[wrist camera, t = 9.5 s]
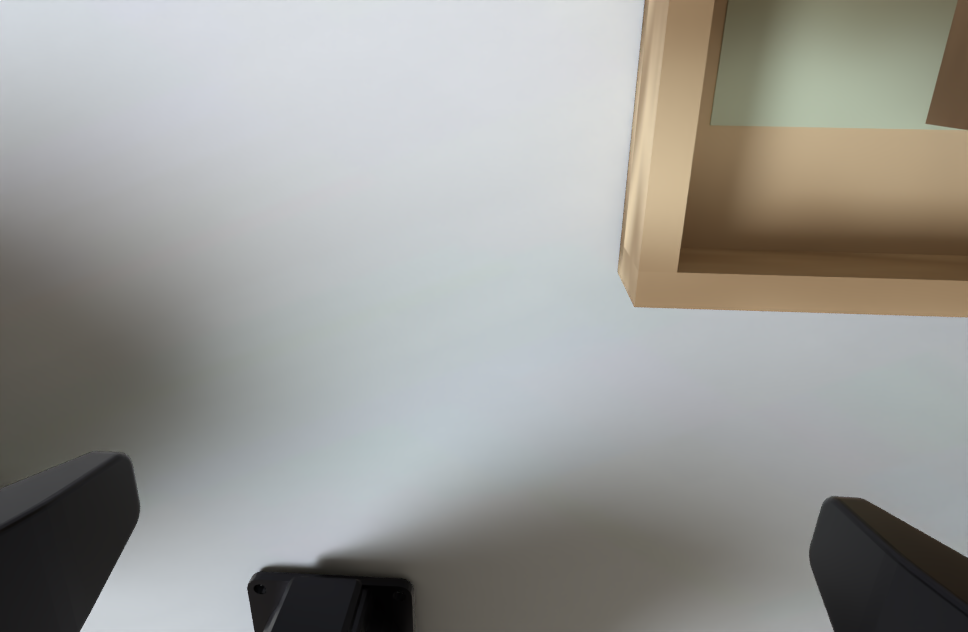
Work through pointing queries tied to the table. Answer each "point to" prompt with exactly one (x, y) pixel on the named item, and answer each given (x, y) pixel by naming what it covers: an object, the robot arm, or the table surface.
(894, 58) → the wooden tray
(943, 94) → the brown wooden block
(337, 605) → the robot arm
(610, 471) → the table surface
